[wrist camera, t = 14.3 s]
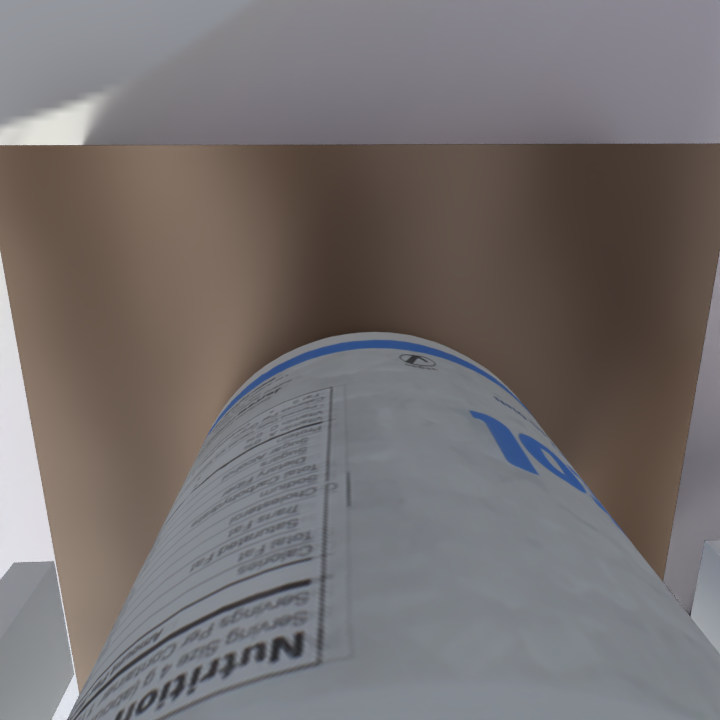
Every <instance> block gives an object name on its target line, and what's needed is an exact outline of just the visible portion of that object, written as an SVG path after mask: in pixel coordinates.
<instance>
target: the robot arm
mask: <svg viewBox="0 0 720 720" xmlns="http://www.w3.org/2000/svg"><path fill="white" fill-rule="evenodd" d="M691 618H692V619H693V621H694V622H695V623H696V624H697V626H698V627H699V628H700V630H701V631H702V632H703V633H704V635H705V636H706V637H707V638H708V640H709V641H710V642H711V643H712V645H713V646H714V647H715V649H716V650H717V651H718V652H719V654H720V540H706V541H705V543H704V548H703V553H702V558H701V564H700V569H699V574H698V580H697V585H696V590H695V595H694V601H693V606H692V611H691ZM73 675H74V671H73V665H72V659H71V654H70V648H69V643H68V637H67V631H66V626H65V620H64V615H63V609H62V603H61V598H60V592H59V586H58V581H57V575H56V570H55V564H54V561H52V562H21V563H13V565H12V566H11V567H10V569H9V570H8V571H7V572H6V574H5V575H4V576H3V577H2V579H1V580H0V720H51V719H52V717H53V715H54V713H55V711H56V709H57V707H58V705H59V703H60V701H61V699H62V697H63V695H64V693H65V691H66V689H67V687H68V685H69V683H70V681H71V679H72V677H73Z"/></svg>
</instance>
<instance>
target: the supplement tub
mask: <svg viewBox="0 0 720 720" xmlns="http://www.w3.org/2000/svg"><path fill="white" fill-rule="evenodd" d="M67 720H720V654H719V652H718V651H717V650H716V649H715V647H714V646H713V645H712V643H711V642H710V641H709V640H708V638H707V637H706V636H705V635H704V633H703V632H702V631H701V630H700V628H699V627H698V626H697V624H696V623H695V622H694V621H693V619H692V618H691V617H690V616H689V614H688V613H687V612H686V611H685V609H684V608H683V607H682V605H681V604H680V603H679V602H678V600H677V599H676V598H675V597H674V595H673V594H672V593H671V592H670V590H669V589H668V588H667V586H666V585H665V584H664V583H663V581H662V580H661V579H660V578H659V576H658V575H657V574H656V573H655V571H654V570H653V569H652V568H651V566H650V565H649V564H648V563H647V561H646V560H645V559H644V558H643V556H642V555H641V554H640V553H639V551H638V550H637V549H636V548H635V546H634V545H633V544H632V542H631V541H630V540H629V539H628V537H627V536H626V535H625V533H624V532H623V531H622V530H621V528H620V527H619V526H618V524H617V523H616V522H615V521H614V519H613V518H612V517H611V516H610V514H609V513H608V512H607V510H606V509H605V508H604V507H603V505H602V504H601V503H600V501H599V500H598V499H597V498H596V496H595V495H594V494H593V493H592V491H591V490H590V489H589V487H588V486H587V485H586V484H585V482H584V481H583V480H582V479H581V477H580V476H579V475H578V473H577V472H576V471H575V470H574V468H573V467H572V466H571V464H570V463H569V462H568V461H567V459H566V458H565V457H564V455H563V454H562V453H561V452H560V450H559V449H558V448H557V446H556V445H555V444H554V443H553V442H552V440H551V439H550V438H549V437H548V436H547V434H546V433H545V432H544V430H543V429H542V428H541V427H540V425H539V424H538V422H537V421H536V420H535V418H534V417H533V416H532V414H531V413H530V412H529V411H528V409H527V408H526V407H525V406H524V405H523V403H522V402H521V401H520V400H519V399H518V397H517V396H516V395H515V394H514V393H513V392H512V391H511V390H510V389H509V388H508V387H507V386H506V385H505V384H504V383H503V382H502V381H501V380H500V379H499V378H498V377H496V376H495V375H494V374H493V373H491V372H490V371H489V370H488V369H486V368H485V367H483V366H482V365H480V364H478V363H477V362H475V361H473V360H472V359H470V358H468V357H466V356H465V355H463V354H461V353H459V352H457V351H455V350H453V349H451V348H449V347H447V346H444V345H441V344H439V343H436V342H433V341H430V340H426V339H423V338H419V337H416V336H412V335H405V334H398V333H390V332H361V333H351V334H344V335H338V336H333V337H328V338H325V339H321V340H318V341H315V342H312V343H309V344H307V345H304V346H301V347H299V348H297V349H294V350H292V351H290V352H288V353H286V354H284V355H282V356H280V357H279V358H277V359H275V360H274V361H272V362H270V363H269V364H267V365H266V366H264V367H263V368H262V369H260V370H259V371H258V372H256V373H255V374H254V375H253V376H252V377H251V378H249V379H248V380H247V381H246V382H245V383H244V384H243V385H242V386H241V387H240V388H239V389H238V390H237V391H236V392H235V394H234V395H233V396H232V397H231V398H230V400H229V401H228V402H227V403H226V405H225V406H224V407H223V409H222V410H221V412H220V413H219V415H218V417H217V418H216V420H215V421H214V423H213V425H212V427H211V430H210V431H209V433H208V435H207V437H206V439H205V441H204V443H203V445H202V447H201V449H200V451H199V453H198V455H197V457H196V459H195V461H194V463H193V466H192V468H191V470H190V472H189V474H188V476H187V478H186V480H185V482H184V484H183V486H182V488H181V490H180V492H179V494H178V496H177V498H176V500H175V502H174V504H173V506H172V508H171V510H170V512H169V514H168V516H167V518H166V520H165V522H164V524H163V526H162V528H161V530H160V532H159V534H158V536H157V538H156V540H155V542H154V544H153V547H152V549H151V551H150V553H149V555H148V557H147V559H146V561H145V563H144V565H143V566H142V568H141V570H140V572H139V574H138V576H137V578H136V580H135V583H134V585H133V587H132V589H131V591H130V593H129V595H128V597H127V599H126V601H125V603H124V605H123V607H122V609H121V611H120V613H119V616H118V618H117V620H116V622H115V624H114V626H113V628H112V630H111V632H110V634H109V636H108V638H107V640H106V642H105V644H104V646H103V648H102V650H101V653H100V655H99V657H98V659H97V661H96V663H95V665H94V667H93V669H92V671H91V673H90V675H89V677H88V679H87V681H86V683H85V685H84V687H83V689H82V691H81V693H80V695H79V697H78V699H77V701H76V703H75V705H74V707H73V709H72V711H71V713H70V715H69V717H68V719H67Z"/></svg>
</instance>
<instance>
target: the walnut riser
mask: <svg viewBox="0 0 720 720" xmlns="http://www.w3.org/2000/svg"><path fill="white" fill-rule="evenodd" d="M0 251H1V257H2V262H3V268H4V273H5V279H6V285H7V290H8V296H9V301H10V307H11V313H12V318H13V324H14V330H15V335H16V341H17V346H18V352H19V358H20V363H21V369H22V374H23V380H24V386H25V391H26V397H27V402H28V408H29V414H30V419H31V425H32V431H33V436H34V442H35V447H36V453H37V459H38V464H39V470H40V475H41V481H42V487H43V492H44V498H45V503H46V509H47V515H48V520H49V526H50V532H51V537H52V543H53V548H54V554H55V560H56V565H57V571H58V576H59V582H60V588H61V593H62V599H63V605H64V610H65V616H66V621H67V627H68V633H69V638H70V644H71V649H72V655H73V661H74V666H75V672H76V677H77V683H78V689H79V694H80V693H81V691H82V689H83V687H84V685H85V683H86V681H87V679H88V677H89V675H90V673H91V671H92V669H93V667H94V665H95V663H96V661H97V659H98V657H99V655H100V653H101V650H102V648H103V646H104V644H105V642H106V640H107V638H108V636H109V634H110V632H111V630H112V628H113V626H114V624H115V622H116V620H117V618H118V616H119V613H120V611H121V609H122V607H123V605H124V603H125V601H126V599H127V597H128V595H129V593H130V591H131V589H132V587H133V585H134V583H135V580H136V578H137V576H138V574H139V572H140V570H141V568H142V566H143V565H144V563H145V561H146V559H147V557H148V555H149V553H150V551H151V549H152V547H153V544H154V542H155V540H156V538H157V536H158V534H159V532H160V530H161V528H162V526H163V524H164V522H165V520H166V518H167V516H168V514H169V512H170V510H171V508H172V506H173V504H174V502H175V500H176V498H177V496H178V494H179V492H180V490H181V488H182V486H183V484H184V482H185V480H186V478H187V476H188V474H189V472H190V470H191V468H192V466H193V463H194V461H195V459H196V457H197V455H198V453H199V451H200V449H201V447H202V445H203V443H204V441H205V439H206V437H207V435H208V433H209V431H210V430H211V427H212V425H213V423H214V421H215V420H216V418H217V417H218V415H219V413H220V412H221V410H222V409H223V407H224V406H225V405H226V403H227V402H228V401H229V400H230V398H231V397H232V396H233V395H234V394H235V392H236V391H237V390H238V389H239V388H240V387H241V386H242V385H243V384H244V383H245V382H246V381H247V380H248V379H249V378H251V377H252V376H253V375H254V374H255V373H256V372H258V371H259V370H260V369H262V368H263V367H264V366H266V365H267V364H269V363H270V362H272V361H274V360H275V359H277V358H279V357H280V356H282V355H284V354H286V353H288V352H290V351H292V350H294V349H297V348H299V347H301V346H304V345H307V344H309V343H312V342H315V341H318V340H321V339H325V338H328V337H333V336H338V335H344V334H351V333H361V332H390V333H398V334H405V335H412V336H416V337H419V338H423V339H426V340H430V341H433V342H436V343H439V344H441V345H444V346H447V347H449V348H451V349H453V350H455V351H457V352H459V353H461V354H463V355H465V356H466V357H468V358H470V359H472V360H473V361H475V362H477V363H478V364H480V365H482V366H483V367H485V368H486V369H488V370H489V371H490V372H491V373H493V374H494V375H495V376H496V377H498V378H499V379H500V380H501V381H502V382H503V383H504V384H505V385H506V386H507V387H508V388H509V389H510V390H511V391H512V392H513V393H514V394H515V395H516V396H517V397H518V399H519V400H520V401H521V402H522V403H523V405H524V406H525V407H526V408H527V409H528V411H529V412H530V413H531V414H532V416H533V417H534V418H535V420H536V421H537V422H538V424H539V425H540V427H541V428H542V429H543V430H544V432H545V433H546V434H547V436H548V437H549V438H550V439H551V440H552V442H553V443H554V444H555V445H556V446H557V448H558V449H559V450H560V452H561V453H562V454H563V455H564V457H565V458H566V459H567V461H568V462H569V463H570V464H571V466H572V467H573V468H574V470H575V471H576V472H577V473H578V475H579V476H580V477H581V479H582V480H583V481H584V482H585V484H586V485H587V486H588V487H589V489H590V490H591V491H592V493H593V494H594V495H595V496H596V498H597V499H598V500H599V501H600V503H601V504H602V505H603V507H604V508H605V509H606V510H607V512H608V513H609V514H610V516H611V517H612V518H613V519H614V521H615V522H616V523H617V524H618V526H619V527H620V528H621V530H622V531H623V532H624V533H625V535H626V536H627V537H628V539H629V540H630V541H631V542H632V544H633V545H634V546H635V548H636V549H637V550H638V551H639V553H640V554H641V555H642V556H643V558H644V559H645V560H646V561H647V563H648V564H649V565H650V566H651V568H652V569H653V570H654V571H655V573H656V574H657V575H658V576H659V578H660V579H661V580H662V581H663V578H664V573H665V567H666V561H667V555H668V549H669V543H670V537H671V532H672V526H673V520H674V514H675V508H676V502H677V497H678V491H679V485H680V479H681V473H682V467H683V461H684V456H685V450H686V444H687V438H688V432H689V426H690V420H691V415H692V409H693V403H694V397H695V391H696V385H697V380H698V374H699V368H700V362H701V356H702V350H703V344H704V339H705V333H706V327H707V321H708V315H709V309H710V304H711V298H712V292H713V286H714V280H715V274H716V268H717V263H718V257H719V251H720V144H381V145H0Z"/></svg>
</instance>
